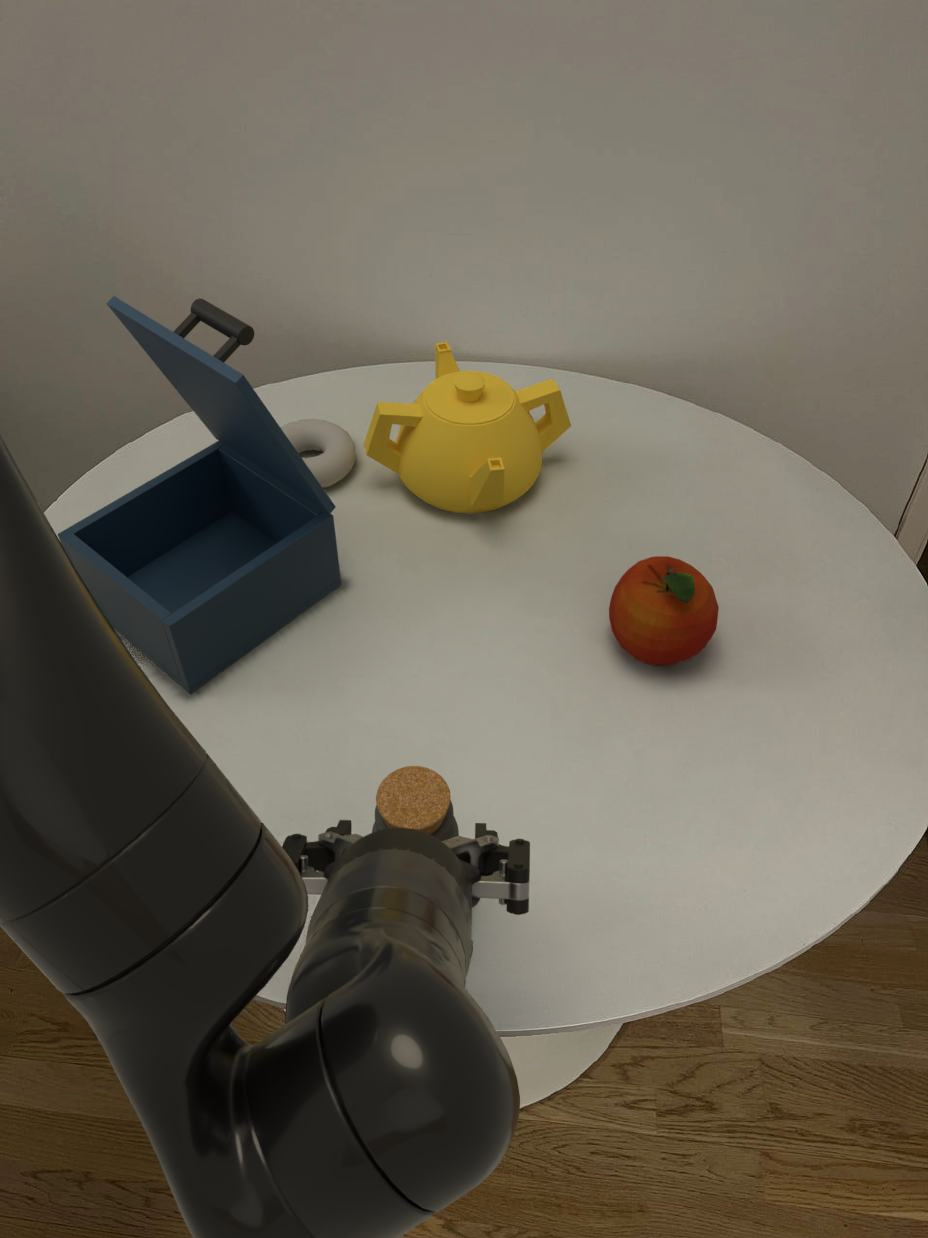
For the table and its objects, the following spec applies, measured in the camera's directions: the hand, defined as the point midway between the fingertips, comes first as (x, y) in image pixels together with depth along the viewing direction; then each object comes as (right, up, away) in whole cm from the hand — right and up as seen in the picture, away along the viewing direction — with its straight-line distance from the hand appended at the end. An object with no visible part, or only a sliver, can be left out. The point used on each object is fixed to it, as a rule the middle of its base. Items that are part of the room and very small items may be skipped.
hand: (412, 837), depth 64 cm
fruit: (+21, +12, +28) cm, 37 cm away
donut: (-13, +30, +45) cm, 56 cm away
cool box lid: (-17, +31, +21) cm, 41 cm away
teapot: (+4, +29, +44) cm, 53 cm away
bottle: (0, -7, +11) cm, 13 cm away
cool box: (-20, +16, +32) cm, 41 cm away
